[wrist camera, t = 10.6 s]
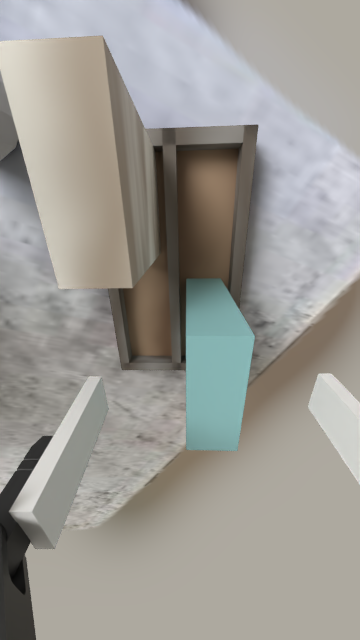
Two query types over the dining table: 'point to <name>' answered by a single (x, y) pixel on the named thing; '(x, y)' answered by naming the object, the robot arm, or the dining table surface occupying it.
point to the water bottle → (6, 124)
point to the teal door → (215, 366)
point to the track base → (127, 192)
